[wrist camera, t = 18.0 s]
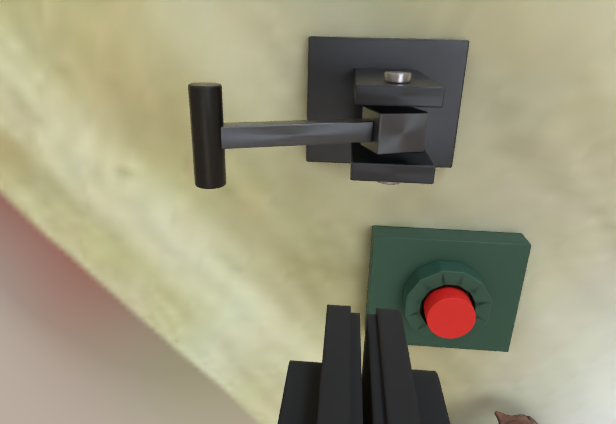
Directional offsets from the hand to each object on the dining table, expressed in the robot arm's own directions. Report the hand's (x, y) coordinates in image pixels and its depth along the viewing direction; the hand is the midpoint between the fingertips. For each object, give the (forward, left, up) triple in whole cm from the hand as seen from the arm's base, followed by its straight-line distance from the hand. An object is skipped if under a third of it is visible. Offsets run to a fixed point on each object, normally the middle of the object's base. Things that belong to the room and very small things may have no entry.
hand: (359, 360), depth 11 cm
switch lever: (-3, +2, -17) cm, 17 cm away
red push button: (+8, -13, -24) cm, 28 cm away
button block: (+8, -13, -27) cm, 31 cm away
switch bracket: (+2, +2, -27) cm, 27 cm away
